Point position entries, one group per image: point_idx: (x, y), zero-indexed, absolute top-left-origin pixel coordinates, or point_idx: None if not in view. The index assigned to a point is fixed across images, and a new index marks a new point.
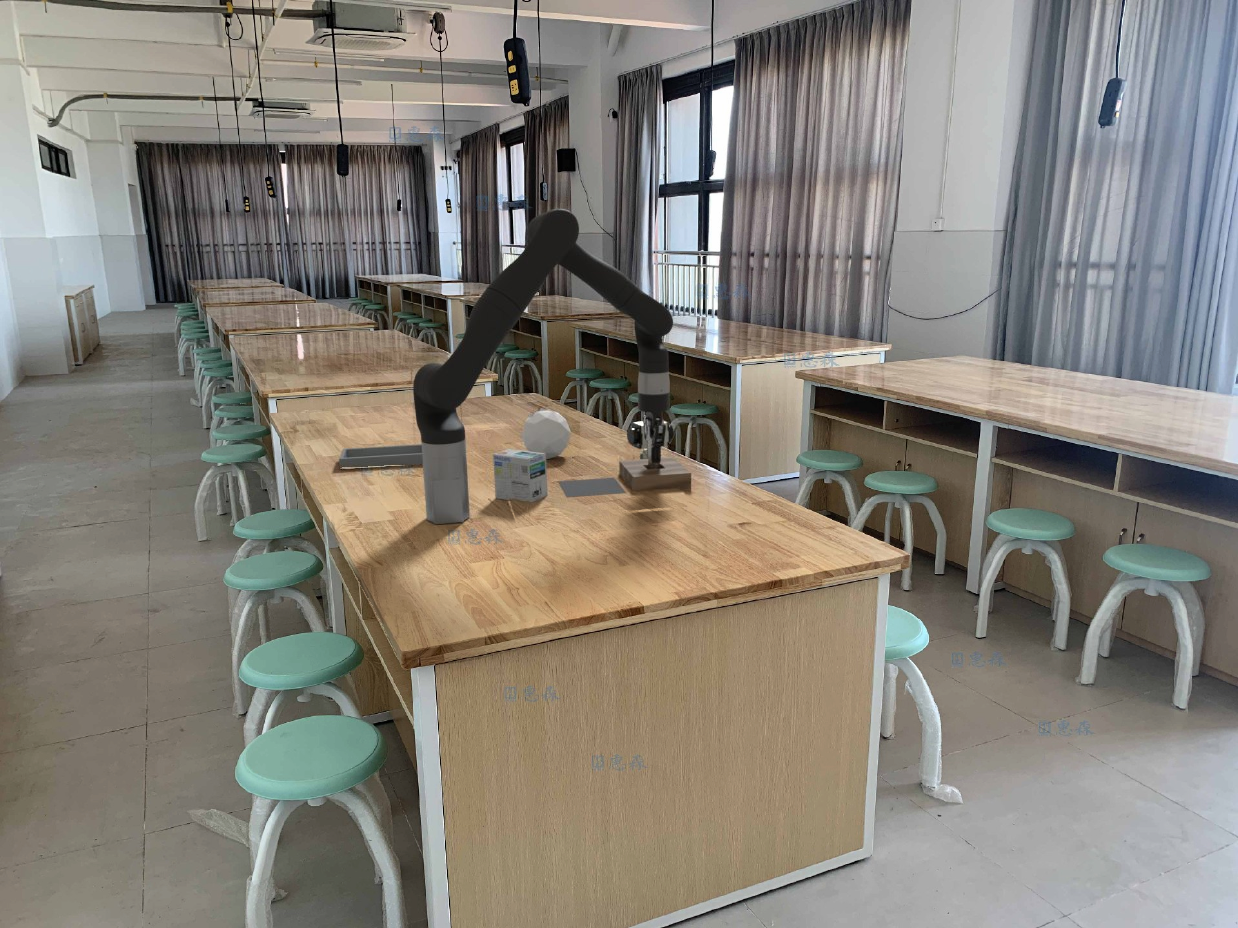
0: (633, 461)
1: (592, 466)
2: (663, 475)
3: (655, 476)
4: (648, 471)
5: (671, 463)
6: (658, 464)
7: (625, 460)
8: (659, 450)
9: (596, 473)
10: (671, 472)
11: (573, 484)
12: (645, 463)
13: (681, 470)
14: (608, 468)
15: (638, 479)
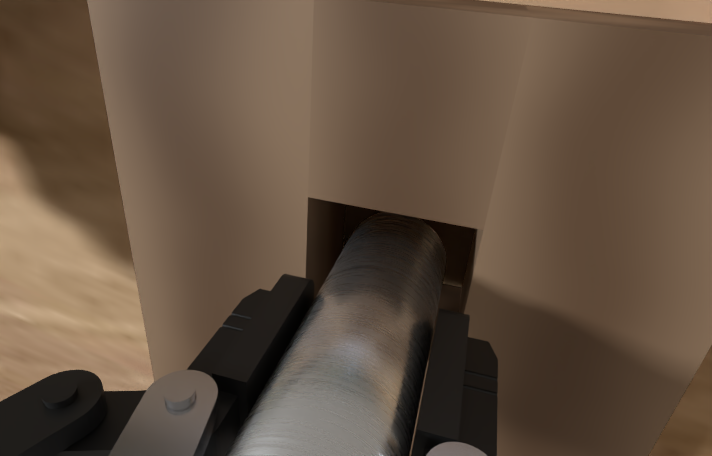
0: (187, 335)
1: (21, 343)
2: (707, 345)
3: (675, 398)
4: (514, 386)
5: (320, 96)
6: (431, 292)
7: (153, 362)
8: (494, 444)
9: (141, 381)
10: (674, 251)
11: None
12: None
13: (663, 119)
14: (55, 302)
15: None
